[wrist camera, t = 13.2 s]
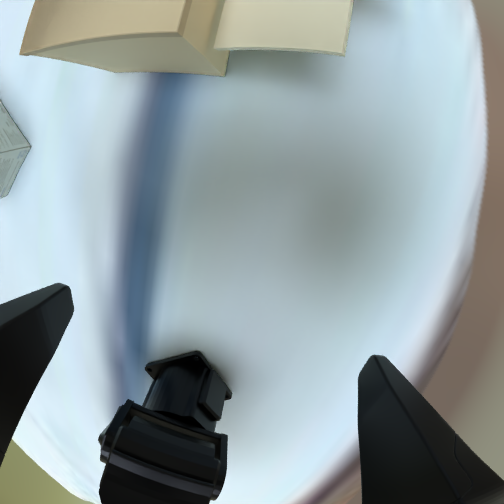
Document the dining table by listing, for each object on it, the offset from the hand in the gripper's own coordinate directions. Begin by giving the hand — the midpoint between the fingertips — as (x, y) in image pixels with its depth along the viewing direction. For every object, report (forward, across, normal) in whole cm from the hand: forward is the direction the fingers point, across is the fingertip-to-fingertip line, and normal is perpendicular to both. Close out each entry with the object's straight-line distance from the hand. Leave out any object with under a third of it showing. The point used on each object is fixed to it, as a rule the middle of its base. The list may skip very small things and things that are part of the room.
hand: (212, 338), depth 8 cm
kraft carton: (+14, +8, -13) cm, 20 cm away
